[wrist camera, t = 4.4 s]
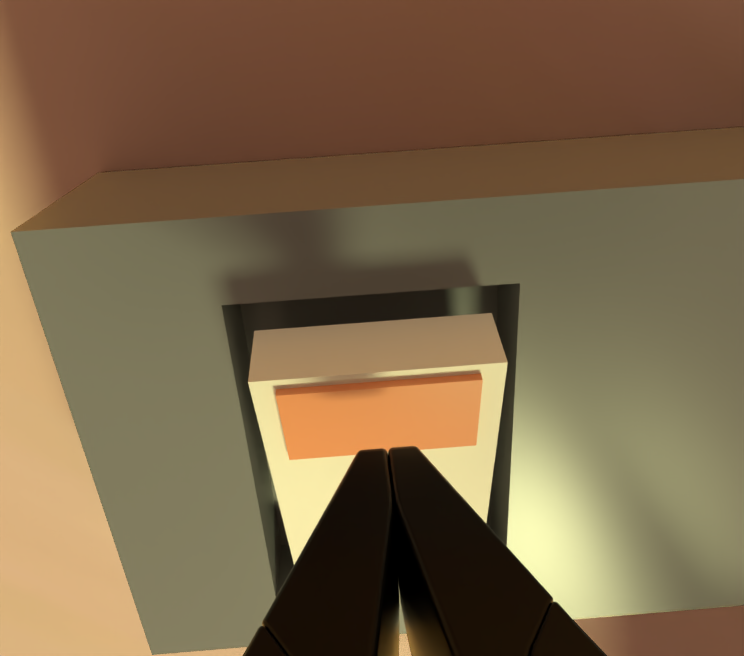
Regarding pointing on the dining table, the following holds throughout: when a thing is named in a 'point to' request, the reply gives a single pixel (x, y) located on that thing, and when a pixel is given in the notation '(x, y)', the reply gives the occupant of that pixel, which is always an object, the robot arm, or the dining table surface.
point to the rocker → (376, 405)
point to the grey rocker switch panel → (412, 301)
